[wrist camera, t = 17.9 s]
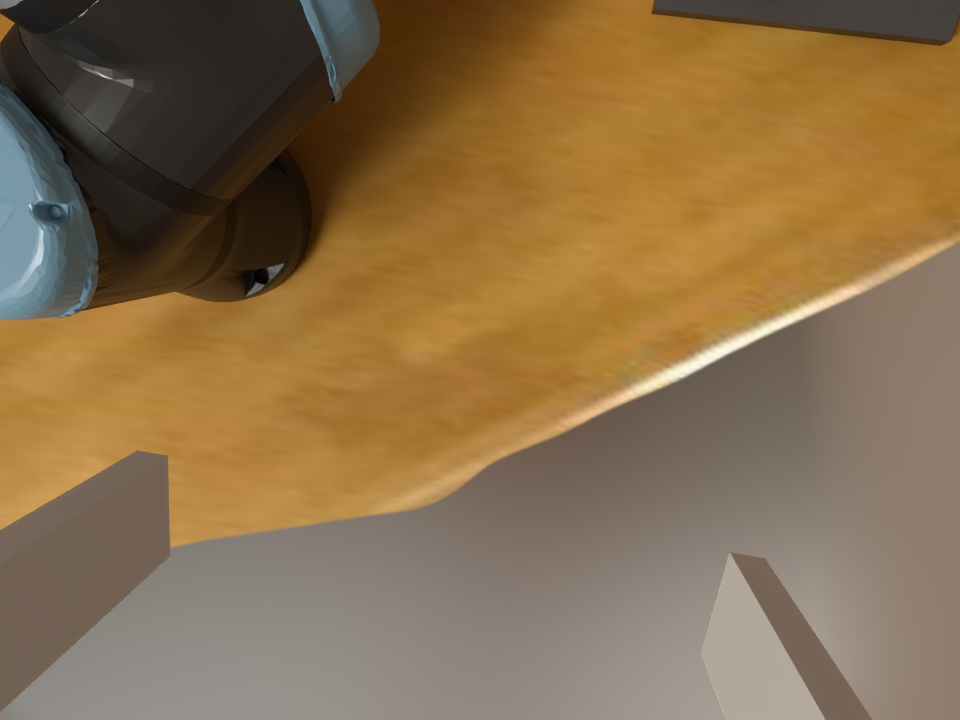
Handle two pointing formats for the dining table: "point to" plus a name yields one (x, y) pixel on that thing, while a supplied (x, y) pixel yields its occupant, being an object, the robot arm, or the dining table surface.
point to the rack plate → (831, 16)
